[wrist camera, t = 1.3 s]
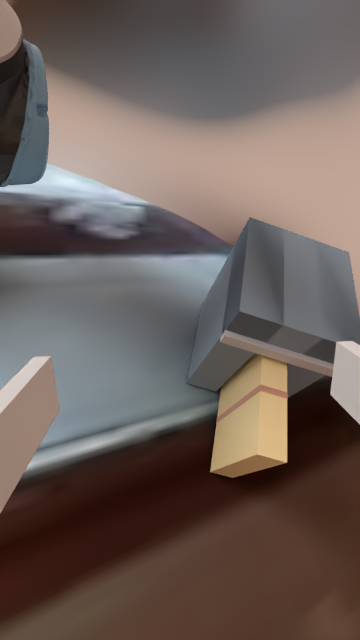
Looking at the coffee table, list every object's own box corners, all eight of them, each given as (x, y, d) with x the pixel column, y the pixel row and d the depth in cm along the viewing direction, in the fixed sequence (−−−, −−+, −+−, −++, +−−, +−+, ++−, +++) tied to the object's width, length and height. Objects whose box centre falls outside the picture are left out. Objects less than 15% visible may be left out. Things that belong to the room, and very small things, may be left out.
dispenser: (270, 412, 39) (366, 358, 25) (185, 387, 38) (238, 317, 24) (273, 328, 46) (348, 252, 33) (201, 305, 45) (249, 217, 32)
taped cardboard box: (232, 478, 33) (287, 462, 24) (209, 471, 33) (256, 454, 24) (244, 355, 42) (287, 310, 33) (225, 349, 41) (264, 302, 32)
